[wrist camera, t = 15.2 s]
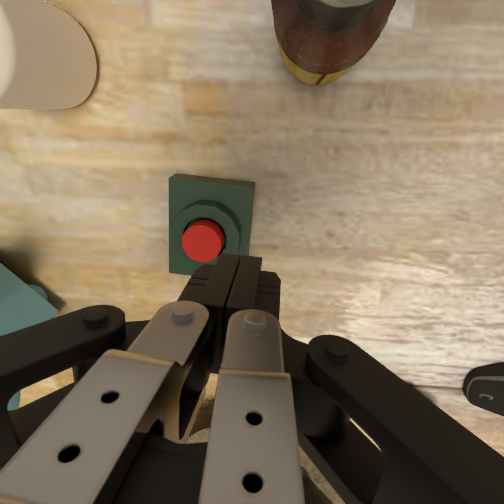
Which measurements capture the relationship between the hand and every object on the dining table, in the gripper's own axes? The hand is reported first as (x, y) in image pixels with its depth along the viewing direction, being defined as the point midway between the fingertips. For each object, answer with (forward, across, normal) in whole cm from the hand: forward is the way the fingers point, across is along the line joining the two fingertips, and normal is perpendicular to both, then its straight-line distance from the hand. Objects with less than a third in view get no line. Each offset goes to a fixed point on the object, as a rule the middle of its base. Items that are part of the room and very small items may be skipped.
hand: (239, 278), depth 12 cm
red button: (+19, +5, +6) cm, 20 cm away
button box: (+22, +5, +6) cm, 24 cm away
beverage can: (+22, +20, -8) cm, 31 cm away
